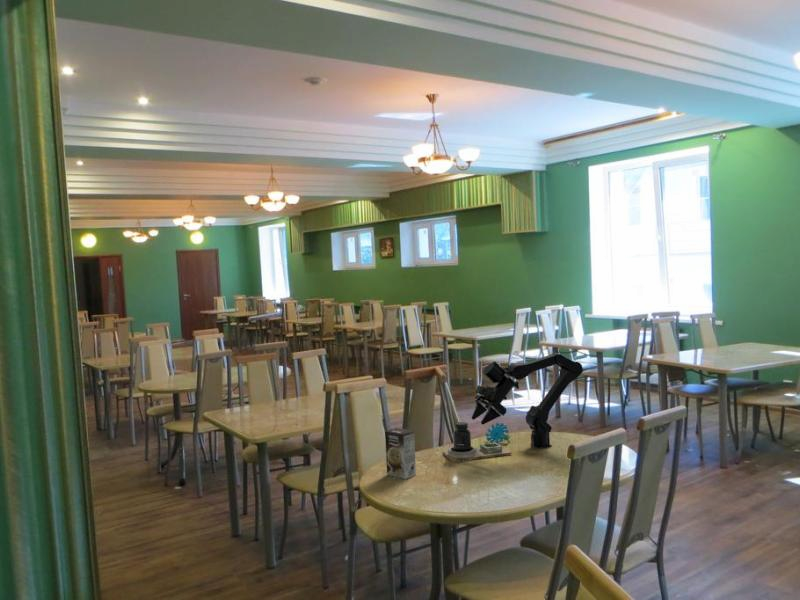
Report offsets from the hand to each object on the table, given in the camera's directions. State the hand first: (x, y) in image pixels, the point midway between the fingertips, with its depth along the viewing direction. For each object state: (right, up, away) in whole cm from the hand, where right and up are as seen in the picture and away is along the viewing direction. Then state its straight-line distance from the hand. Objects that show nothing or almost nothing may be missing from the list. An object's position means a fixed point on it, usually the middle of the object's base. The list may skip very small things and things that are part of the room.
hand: (477, 421), depth 260 cm
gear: (+11, -12, +17) cm, 24 cm away
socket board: (0, -13, 0) cm, 13 cm away
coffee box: (-30, -16, -21) cm, 39 cm away
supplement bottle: (-6, -13, -1) cm, 14 cm away
